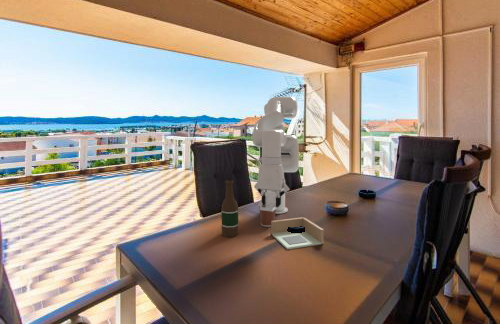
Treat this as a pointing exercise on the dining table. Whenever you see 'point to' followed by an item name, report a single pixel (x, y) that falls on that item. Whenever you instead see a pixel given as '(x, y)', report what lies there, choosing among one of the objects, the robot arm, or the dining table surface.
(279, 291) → the dining table surface
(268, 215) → the coffee cup
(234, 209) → the beer bottle
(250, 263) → the dining table surface
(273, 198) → the bracket
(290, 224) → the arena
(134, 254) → the dining table surface
